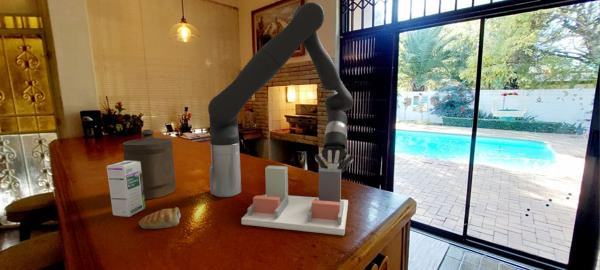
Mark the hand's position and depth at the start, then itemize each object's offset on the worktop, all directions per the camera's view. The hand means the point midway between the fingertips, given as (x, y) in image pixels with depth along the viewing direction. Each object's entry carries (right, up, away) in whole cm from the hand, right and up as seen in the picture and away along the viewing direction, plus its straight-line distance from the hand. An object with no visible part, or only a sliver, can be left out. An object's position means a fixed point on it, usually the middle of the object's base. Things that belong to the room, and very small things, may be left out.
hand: (331, 182), depth 78 cm
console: (-10, -7, -7) cm, 14 cm away
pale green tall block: (-17, -5, 0) cm, 17 cm away
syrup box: (-59, -8, -4) cm, 59 cm away
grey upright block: (-1, -5, -4) cm, 7 cm away
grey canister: (-61, -6, +12) cm, 62 cm away
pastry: (-45, -9, -11) cm, 47 cm away
